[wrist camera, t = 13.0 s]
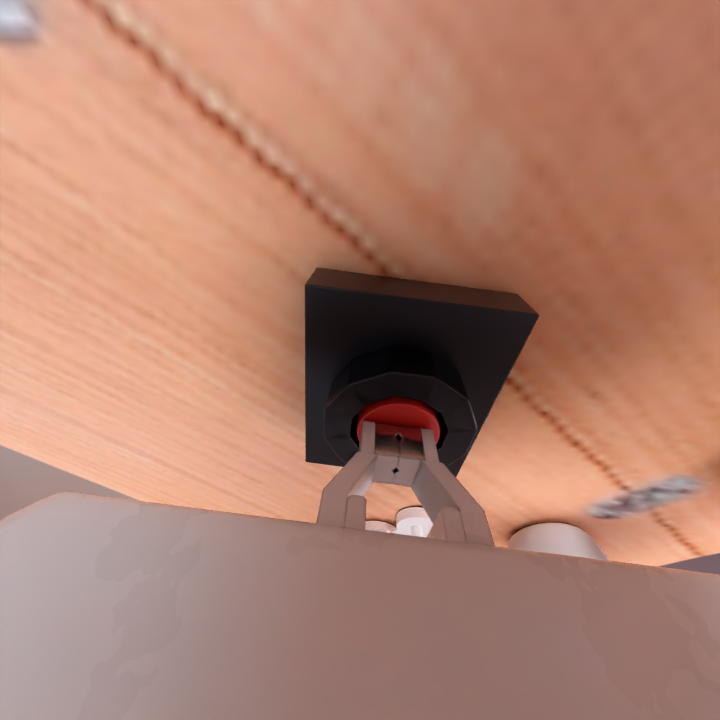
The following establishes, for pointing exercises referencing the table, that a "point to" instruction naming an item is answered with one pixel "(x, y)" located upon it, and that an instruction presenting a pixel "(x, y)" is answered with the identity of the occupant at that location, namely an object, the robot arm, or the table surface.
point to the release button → (400, 414)
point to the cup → (557, 541)
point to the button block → (405, 356)
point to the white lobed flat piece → (405, 523)
